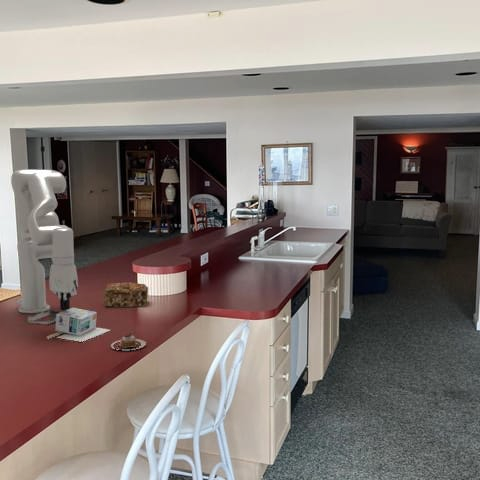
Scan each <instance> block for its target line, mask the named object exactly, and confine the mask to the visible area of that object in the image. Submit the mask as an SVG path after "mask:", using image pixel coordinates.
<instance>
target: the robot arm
mask: <svg viewBox="0 0 480 480" xmlns="http://www.w3.org/2000/svg"><path fill="white" fill-rule="evenodd" d="M10 178H11V179H10V182H11V188H12V190H13V194H14V196H15V198H16V200H17V201H16V202H17V213H18V224H19V225H18V226H19V230H20V231H21V233H23V234H28V235H30V236H28V237H23V238H20V239H19V241H18V242H17V245H16V247H17V248H16V249H17V253H18V258H19V265H20V279H21V280H20V282H21V297H20V298H19V300H16V304H19V305H20V306H19V307H18V312H20V313H24V314H40V313H41V312H47V311H49V309H50V308H51V305H49V304H48V303H47V297H46V296H47V295H46V277H45V276H46V273H45V267H44V265H43V264H42V263H41V262H40V261H39V260H40V259H49V258H50V259H51V261H52V264H51V266H50V269H49V281H48V282H49V284H48V285H49V290H50V291H51V292H52V293H53V294H55V295H57V297H58V298H57V299H58V300H59V304H60V306H59V307H60V308H59V309H60V311H62V312H63V311H65V310H68V309H70V308H71V306H70V305H71V303H70V302H71V298H72V297H73V296H77V294H78V288H79V280H78V273H77V267H76V264H75V251H74V231H73V229H72V228H71V227H68V226H67V225H62V224H60V220H59V216H58V215H57V213H56V212H55V210H56V209H57V207H58V201H57V198H56V195H55V194H62V193H64V192H65V190H66V188H67V181H66V178H65V176H64V175H63V174H62V173H61V172H60V171H57V170H53V169H34V168H33V169H31V168H29V169H28V168H27V169H18V170H15V171H13V173H11V177H10Z"/></svg>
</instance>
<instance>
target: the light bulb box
mask: <svg viewBox="0 0 480 480" xmlns="http://www.w3.org/2000/svg"><path fill="white" fill-rule="evenodd" d="M59 312H60V313H58V314H56V316H55V317H56V321H55V332H64V334H67V333H69V334H73V335H78V336H81V335H83V334H85V333H86V332H88V331H90V330H92V329H95V328H97V327H96V325H97V313H98V312H97V311H91V310H87V309H82V308H77V307H70V309H68V310H65V311H63V310H62V311H59Z"/></svg>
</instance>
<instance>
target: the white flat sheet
mask: <svg viewBox="0 0 480 480" xmlns="http://www.w3.org/2000/svg"><path fill="white" fill-rule="evenodd" d="M106 332H107V333H109V332H111V329H108V328H101V327H96V328H95V329H92V330H90V331H88V332H86V333H85V334H83V335H81V336H78V335H73V334H69V333H64V334H62V335H59V336H57V337H56V339H57V338H62V339H67V340H74V341H79V342H81V341H82V342H83V341H86V340H88V339H90V340H92V339H91V338H93V339H94V337H95V338H97V337H99V335H100V336H102V335H105V334H107V333H106ZM104 333H105V334H104ZM96 336H97V337H96ZM62 339H61V340H62ZM67 340H66V341H67ZM88 341H89V340H88ZM86 342H87V341H86ZM83 343H84V342H83Z"/></svg>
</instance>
